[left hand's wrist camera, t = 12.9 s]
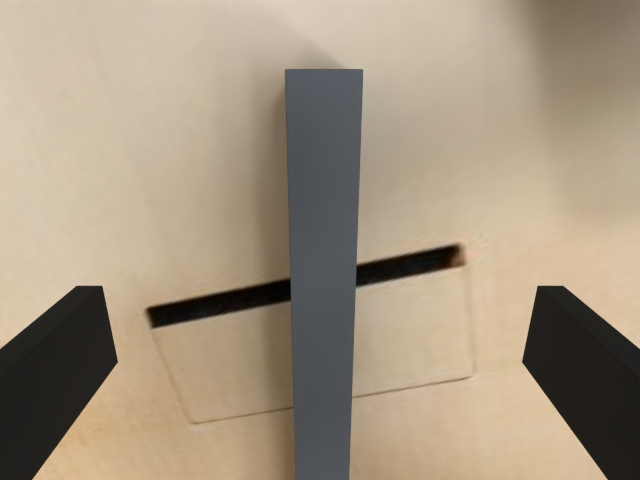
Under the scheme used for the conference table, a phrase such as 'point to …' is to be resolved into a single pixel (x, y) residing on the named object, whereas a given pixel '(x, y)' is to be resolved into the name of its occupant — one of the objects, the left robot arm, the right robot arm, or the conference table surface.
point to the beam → (323, 261)
